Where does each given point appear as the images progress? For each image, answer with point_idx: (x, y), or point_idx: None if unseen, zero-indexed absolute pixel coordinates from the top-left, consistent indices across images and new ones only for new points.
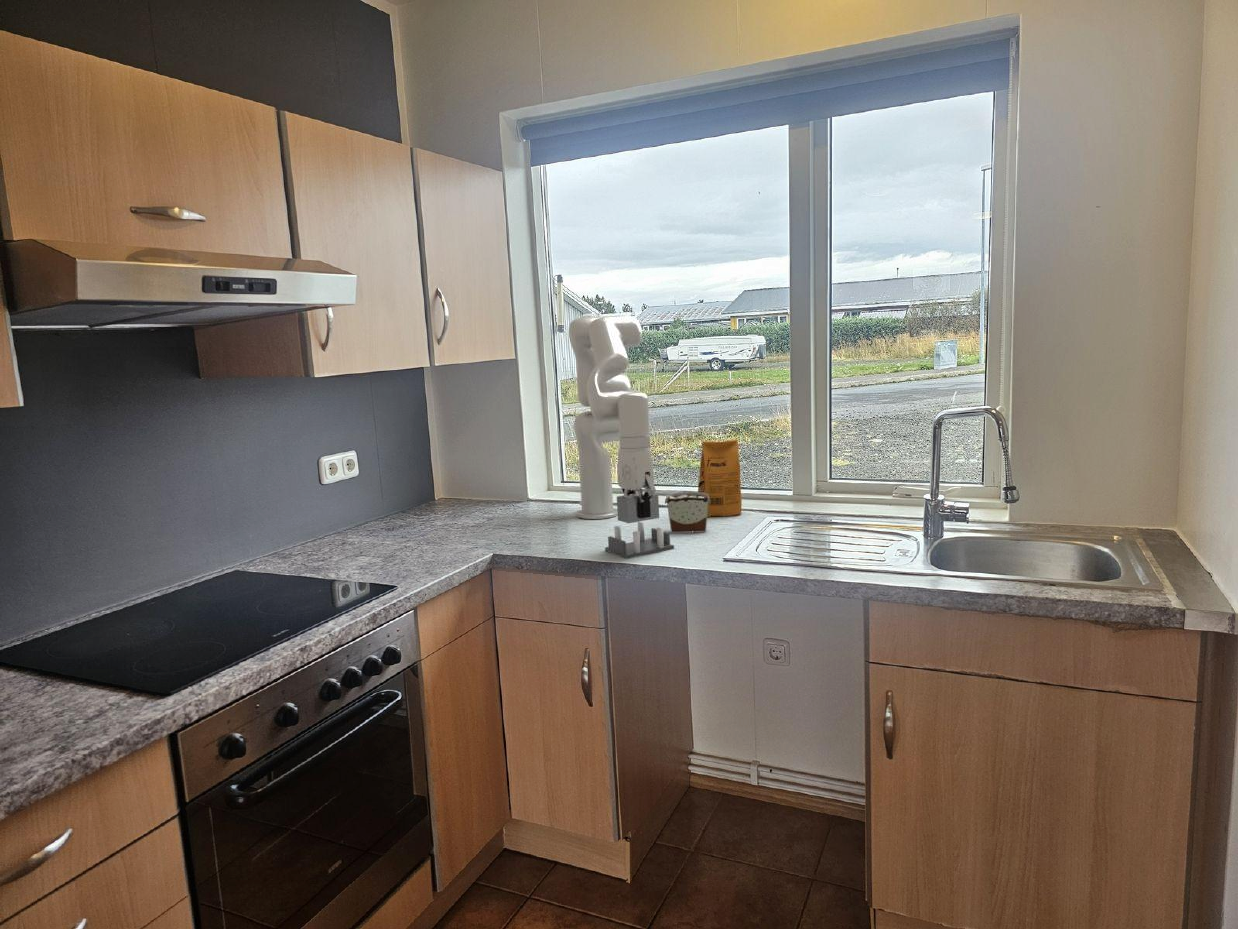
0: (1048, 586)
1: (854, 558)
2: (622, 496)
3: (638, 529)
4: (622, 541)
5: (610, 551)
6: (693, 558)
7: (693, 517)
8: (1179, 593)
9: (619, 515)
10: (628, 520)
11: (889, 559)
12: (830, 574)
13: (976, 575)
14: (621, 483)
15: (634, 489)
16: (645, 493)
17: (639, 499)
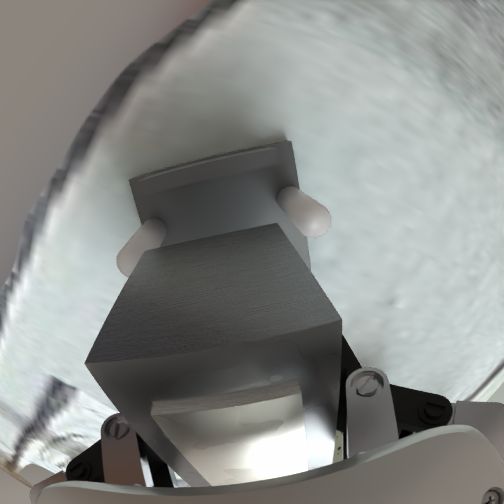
0: (5, 459)
1: (67, 463)
2: (288, 373)
3: None
4: (145, 182)
5: (249, 148)
6: (81, 347)
7: (336, 441)
8: (6, 470)
9: (258, 240)
10: (141, 260)
11: (63, 470)
12: (4, 417)
13: (21, 462)
14: (401, 495)
15: (76, 489)
16: (77, 478)
17: (132, 431)
